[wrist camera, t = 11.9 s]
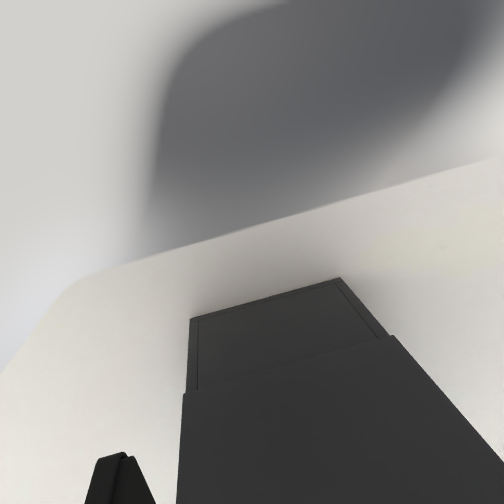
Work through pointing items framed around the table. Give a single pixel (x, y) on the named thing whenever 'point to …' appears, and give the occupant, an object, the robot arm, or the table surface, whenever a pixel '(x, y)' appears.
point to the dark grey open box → (276, 333)
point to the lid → (334, 436)
